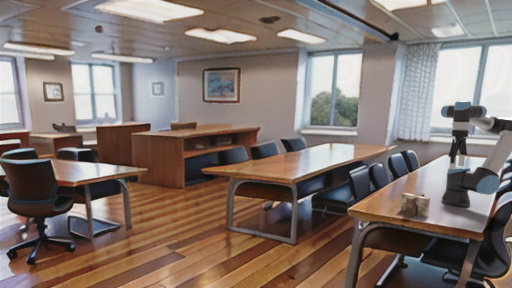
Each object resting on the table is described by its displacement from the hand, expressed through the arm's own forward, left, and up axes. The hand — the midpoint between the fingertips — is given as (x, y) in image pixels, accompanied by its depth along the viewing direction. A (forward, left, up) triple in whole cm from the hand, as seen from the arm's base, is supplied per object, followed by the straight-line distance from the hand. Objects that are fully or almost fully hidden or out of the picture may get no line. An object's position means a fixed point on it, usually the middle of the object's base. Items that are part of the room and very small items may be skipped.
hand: (456, 167), depth 168 cm
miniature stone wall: (+16, -14, -27) cm, 34 cm away
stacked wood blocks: (+16, -14, -27) cm, 34 cm away
